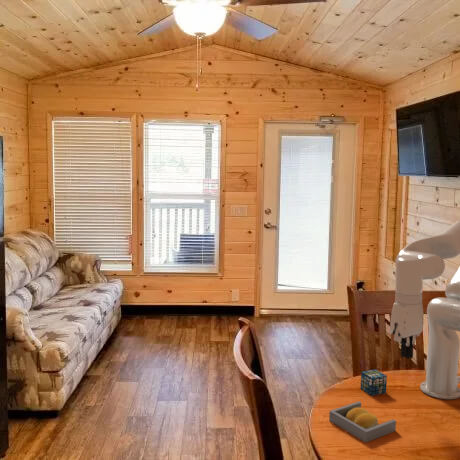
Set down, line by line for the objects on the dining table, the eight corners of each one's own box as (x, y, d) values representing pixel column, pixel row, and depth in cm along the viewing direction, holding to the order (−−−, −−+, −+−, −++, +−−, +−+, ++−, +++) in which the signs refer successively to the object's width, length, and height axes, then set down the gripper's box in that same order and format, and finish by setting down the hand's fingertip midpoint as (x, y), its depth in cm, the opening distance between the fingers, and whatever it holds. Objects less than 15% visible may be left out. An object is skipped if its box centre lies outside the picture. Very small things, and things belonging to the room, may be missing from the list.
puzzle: (386, 393, 168) (387, 375, 167) (371, 396, 166) (372, 378, 165) (374, 386, 173) (375, 369, 173) (360, 388, 171) (360, 371, 170)
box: (358, 410, 155) (358, 401, 155) (395, 430, 143) (396, 420, 143) (329, 420, 149) (329, 410, 148) (365, 442, 137) (366, 432, 137)
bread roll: (363, 434, 142) (363, 420, 141) (341, 420, 149) (341, 407, 149) (384, 427, 146) (385, 414, 145) (362, 414, 153) (362, 401, 153)
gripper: (414, 291, 158) (412, 347, 161) (381, 299, 150) (380, 358, 153) (435, 296, 152) (433, 355, 155) (402, 305, 144) (400, 367, 147)
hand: (406, 356), depth 154 cm, fingers closed
